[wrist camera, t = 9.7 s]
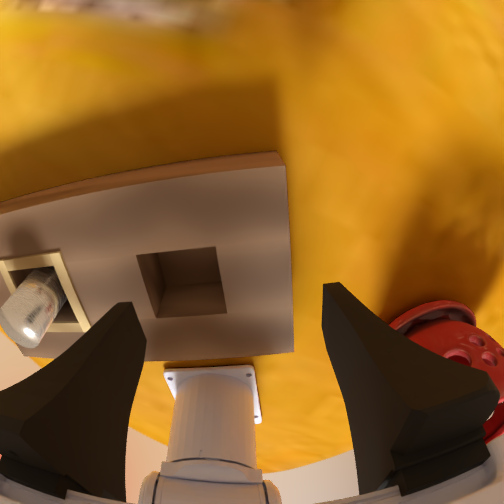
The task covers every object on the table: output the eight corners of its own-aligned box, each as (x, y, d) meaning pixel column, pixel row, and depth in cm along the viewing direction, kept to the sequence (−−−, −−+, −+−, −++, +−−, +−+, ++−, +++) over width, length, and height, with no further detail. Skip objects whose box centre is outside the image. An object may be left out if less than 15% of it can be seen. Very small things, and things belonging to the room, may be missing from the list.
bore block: (286, 313, 24) (294, 354, 20) (42, 326, 24) (23, 357, 20) (276, 150, 18) (285, 166, 14) (-9, 205, 18) (-42, 227, 15)
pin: (87, 284, 21) (48, 349, 15) (55, 286, 21) (13, 346, 15) (73, 246, 20) (24, 305, 14) (41, 250, 20) (-10, 306, 14)
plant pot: (364, 292, 23) (427, 424, 13) (486, 281, 23) (560, 369, 13) (337, 395, 29) (362, 500, 19) (442, 376, 30) (483, 459, 19)
